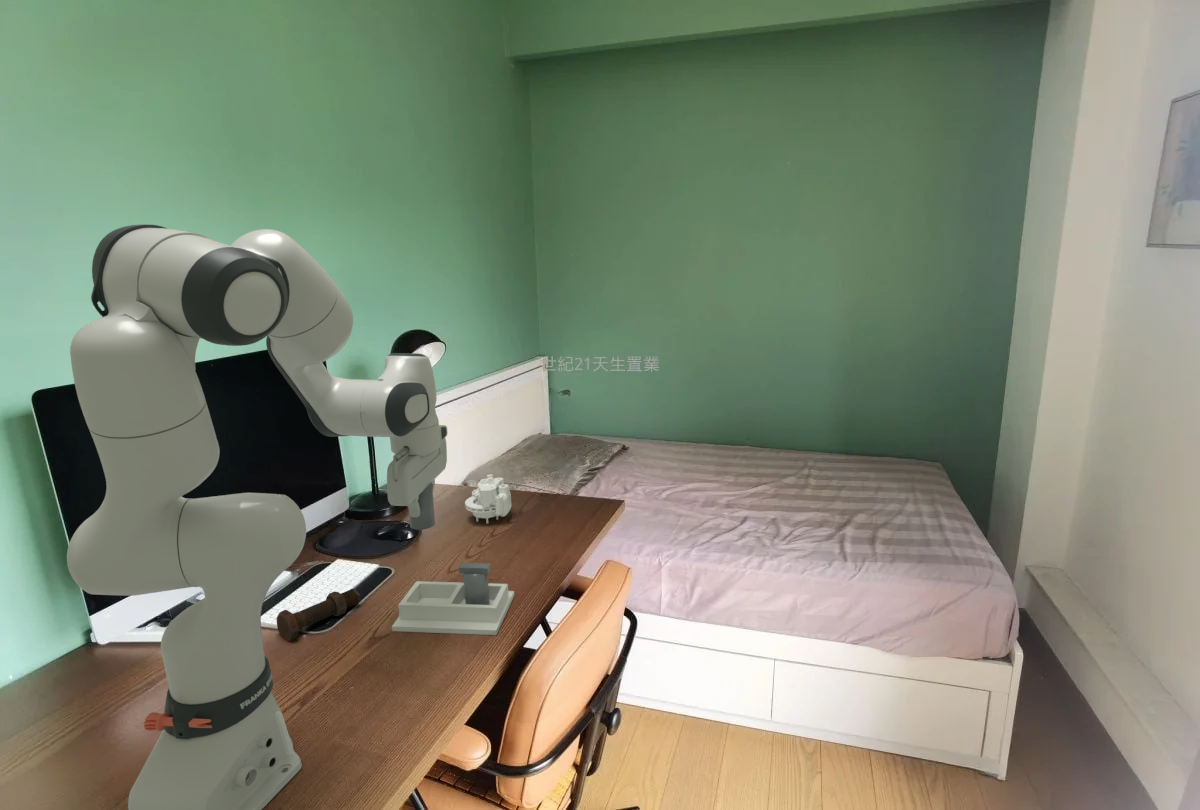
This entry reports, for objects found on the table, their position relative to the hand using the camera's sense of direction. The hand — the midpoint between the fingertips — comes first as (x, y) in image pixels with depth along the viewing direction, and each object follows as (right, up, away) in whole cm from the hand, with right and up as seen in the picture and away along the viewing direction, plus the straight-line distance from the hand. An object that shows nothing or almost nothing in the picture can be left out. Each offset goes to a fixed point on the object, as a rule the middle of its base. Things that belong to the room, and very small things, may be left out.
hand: (422, 509), depth 120 cm
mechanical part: (+4, -11, +49) cm, 50 cm away
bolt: (-20, -23, +3) cm, 30 cm away
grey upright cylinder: (0, -3, +1) cm, 3 cm away
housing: (+5, -21, +5) cm, 22 cm away
